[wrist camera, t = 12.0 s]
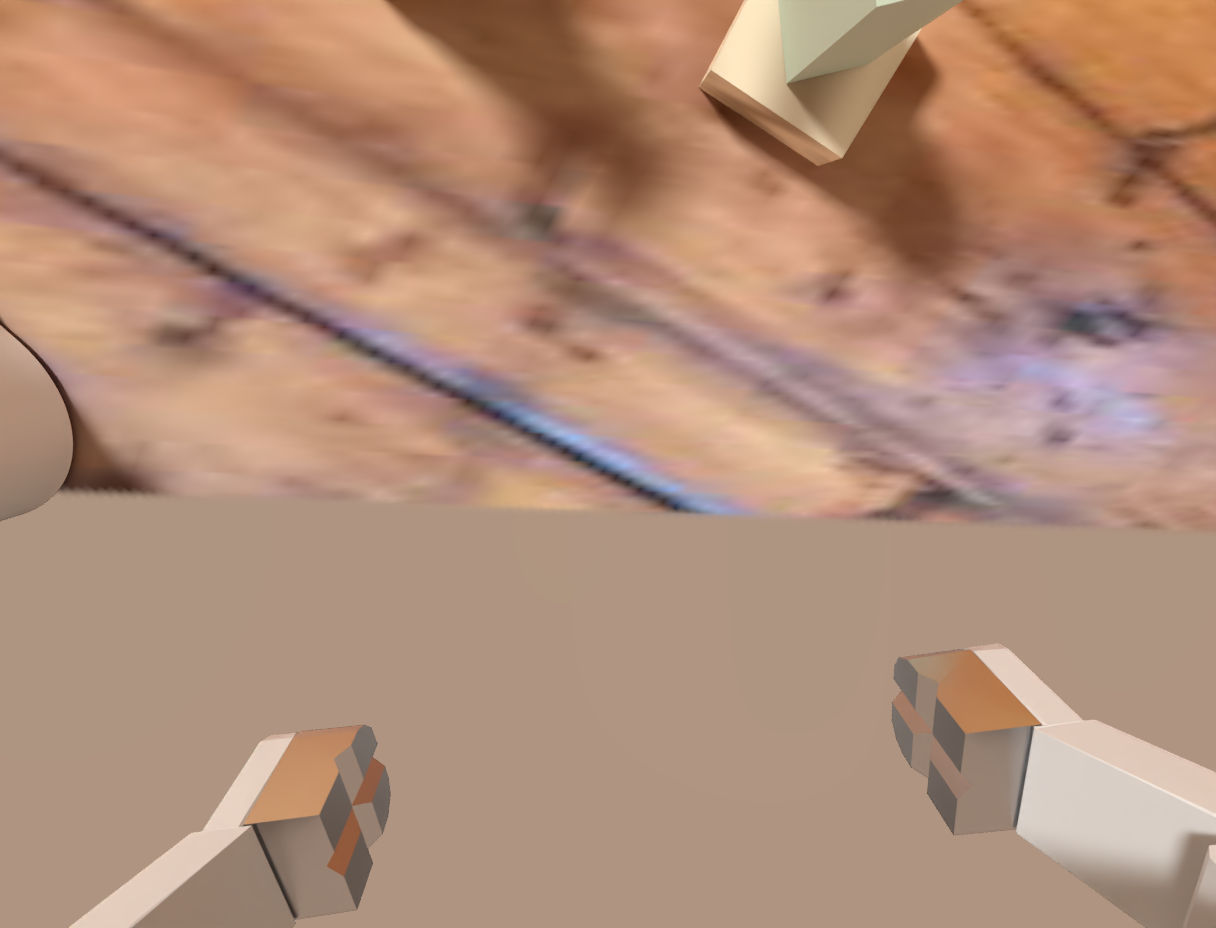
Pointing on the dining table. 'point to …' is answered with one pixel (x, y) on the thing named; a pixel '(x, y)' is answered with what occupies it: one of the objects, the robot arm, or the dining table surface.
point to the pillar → (848, 31)
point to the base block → (794, 86)
